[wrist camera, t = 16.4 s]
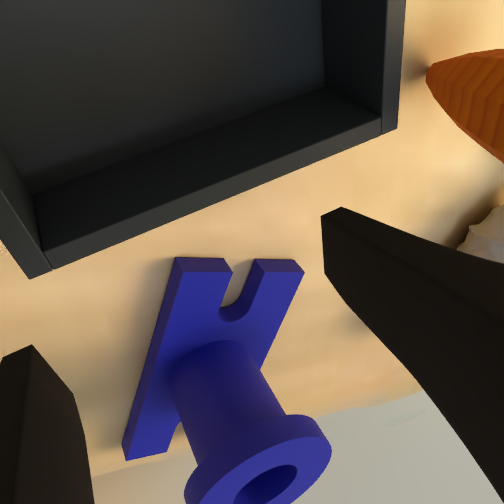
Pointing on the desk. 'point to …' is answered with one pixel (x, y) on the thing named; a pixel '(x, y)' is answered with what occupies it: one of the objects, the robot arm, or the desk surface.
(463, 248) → the seahorse
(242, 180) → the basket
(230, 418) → the mount
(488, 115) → the carrot
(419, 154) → the desk surface
